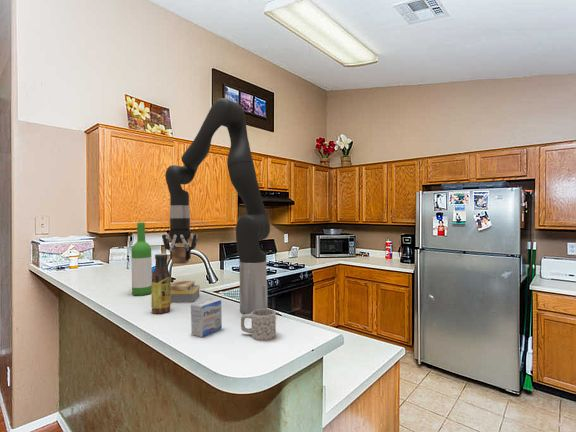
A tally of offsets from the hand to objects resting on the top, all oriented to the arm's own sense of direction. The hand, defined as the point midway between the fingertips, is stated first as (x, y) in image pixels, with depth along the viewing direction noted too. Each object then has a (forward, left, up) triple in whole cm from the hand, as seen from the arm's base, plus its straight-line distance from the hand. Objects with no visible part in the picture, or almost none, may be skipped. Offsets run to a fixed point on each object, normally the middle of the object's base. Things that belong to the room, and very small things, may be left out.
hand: (180, 260), depth 134 cm
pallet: (0, 0, -11) cm, 11 cm away
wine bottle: (+19, -9, -16) cm, 27 cm away
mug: (-35, +39, -16) cm, 54 cm away
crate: (0, 0, -1) cm, 1 cm away
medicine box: (-20, +36, -16) cm, 44 cm away
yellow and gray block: (0, 0, -15) cm, 15 cm away
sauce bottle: (+1, +16, -16) cm, 23 cm away
